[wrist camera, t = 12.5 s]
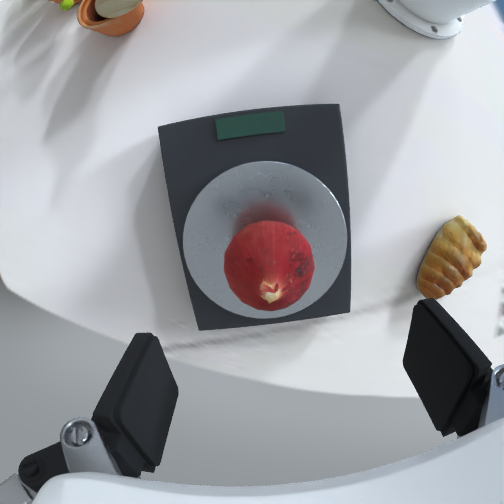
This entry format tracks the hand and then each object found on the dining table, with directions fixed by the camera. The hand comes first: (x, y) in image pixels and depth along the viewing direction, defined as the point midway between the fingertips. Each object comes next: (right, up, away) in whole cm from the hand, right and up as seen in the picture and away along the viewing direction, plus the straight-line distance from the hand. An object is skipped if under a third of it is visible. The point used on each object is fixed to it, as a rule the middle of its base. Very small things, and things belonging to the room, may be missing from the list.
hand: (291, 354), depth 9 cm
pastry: (+20, +4, +17) cm, 27 cm away
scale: (0, +7, +16) cm, 17 cm away
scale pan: (0, +4, +13) cm, 14 cm away
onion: (0, +4, +13) cm, 14 cm away
